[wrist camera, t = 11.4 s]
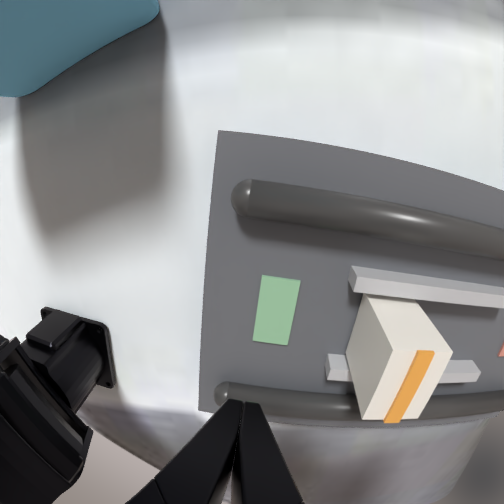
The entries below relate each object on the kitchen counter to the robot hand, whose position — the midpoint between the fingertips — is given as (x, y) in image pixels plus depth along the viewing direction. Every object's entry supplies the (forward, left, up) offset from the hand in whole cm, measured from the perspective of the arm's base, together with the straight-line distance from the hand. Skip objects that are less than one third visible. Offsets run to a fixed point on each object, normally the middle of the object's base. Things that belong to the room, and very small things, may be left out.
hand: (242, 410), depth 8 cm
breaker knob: (-2, -7, -9) cm, 12 cm away
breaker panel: (-2, -10, -12) cm, 16 cm away
